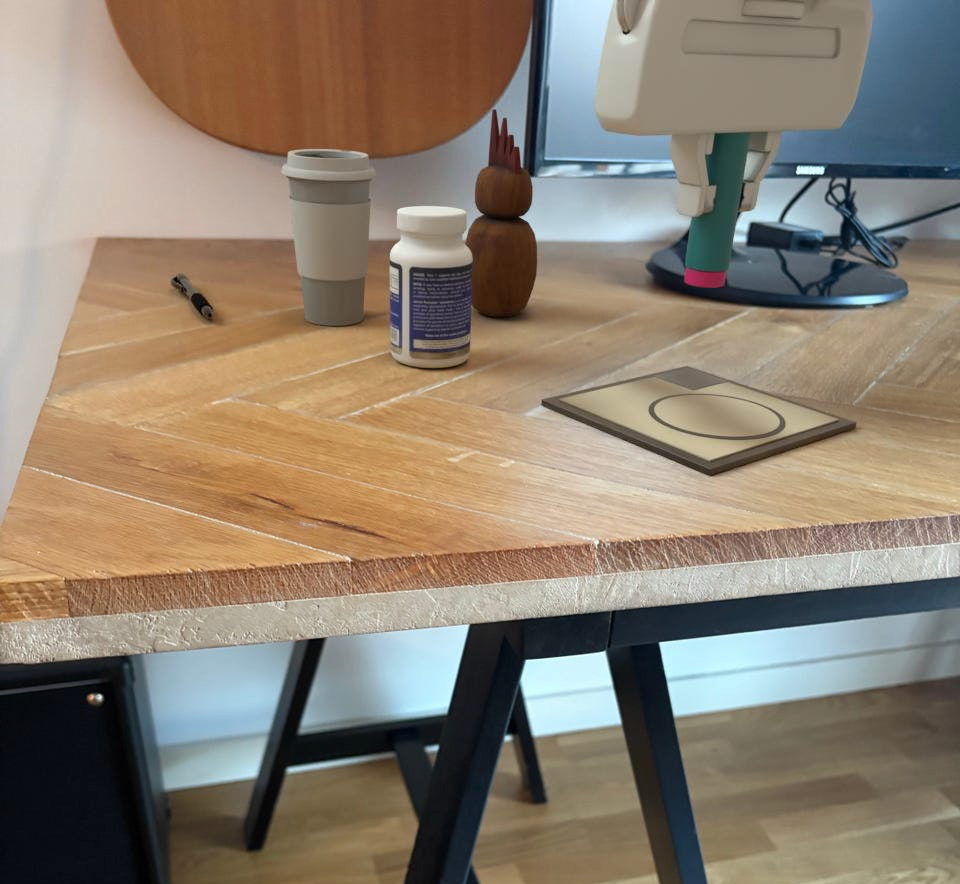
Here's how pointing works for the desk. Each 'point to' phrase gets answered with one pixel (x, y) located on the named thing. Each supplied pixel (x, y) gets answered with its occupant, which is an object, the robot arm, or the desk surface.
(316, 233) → the cup
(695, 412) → the board
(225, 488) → the desk surface
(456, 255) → the pill bottle
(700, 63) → the robot arm
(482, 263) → the wooden figurine
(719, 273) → the dot marker
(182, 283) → the pen
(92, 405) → the desk surface
